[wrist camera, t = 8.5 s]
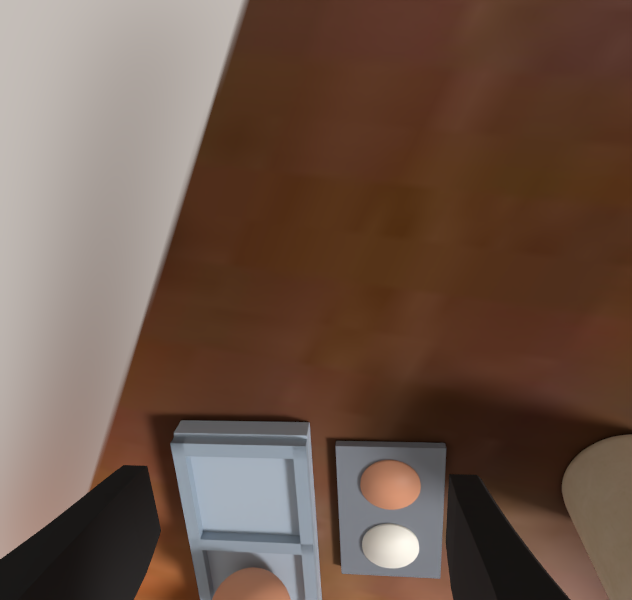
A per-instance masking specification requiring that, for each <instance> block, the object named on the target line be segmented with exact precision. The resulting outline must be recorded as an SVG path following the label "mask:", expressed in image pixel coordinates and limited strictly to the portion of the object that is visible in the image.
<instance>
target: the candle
mask: <svg viewBox="0 0 632 600" xmlns="http://www.w3.org/2000/svg"><path fill="white" fill-rule="evenodd" d="M562 494H563V499H564V503H565V505H566V508H567V510H568V512H569V515H570V517H571V519H572V521H573V524H574V526H575V528H576V530H577V532H578V534H579V536H580V538H581V541H582V543H583V545H584V547H585V549H586V551H587V553H588V555H589V558H590V560H591V562H592V564H593V566H594V568H595V570H596V572H597V574H598V577H599V579H600V581H601V583H602V585H603V587H604V589H605V591H606V594H607V596H608V598H609V600H632V434H628V435H619V436H614V437H610V438H607V439H603V440H601V441H599V442H596V443H594V444H592V445H591V446H589V447H587V448H586V449H584V450H583V451H582V452H580V453H579V454H578V455H577V456H576V457H575V458H574V459H573V460H572V461H571V463H570V464H569V466H568V467H567V469H566V471H565V473H564V477H563V480H562Z"/></svg>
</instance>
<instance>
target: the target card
mask: <svg viewBox="0 0 632 600" xmlns="http://www.w3.org/2000/svg"><path fill="white" fill-rule="evenodd" d="M445 465H446V445H445V443H424V442H375V441H336V466H337V487H338V507H339V527H340V548H341V568H342V574H361V575H380V576H400V577H419V578H439V579H440V572H441V551H442V529H443V508H444V487H445Z"/></svg>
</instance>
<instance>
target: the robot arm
mask: <svg viewBox="0 0 632 600" xmlns="http://www.w3.org/2000/svg"><path fill="white" fill-rule="evenodd" d="M160 532H161V528H160V524H159V519H158V514H157V510H156V505H155V500H154V496H153V491H152V486H151V482H150V477H149V472H148V468H147V466H131V465H123V466H122V467H121V468H119V469H118V470H116V471H115V472H114V473H112V474H111V475H110V476H109V477H107V478H106V479H105V480H104V481H102V482H101V483H100V484H98V485H97V486H96V487H95V488H94V489H92V490H91V491H90V492H89V493H87V494H86V495H85V496H84V497H82V498H81V499H80V500H79V501H77V502H76V503H75V504H73V505H72V506H71V507H70V508H68V509H67V510H66V511H65V512H63V513H62V514H61V515H60V516H58V517H57V518H56V519H54V520H53V521H52V522H51V523H49V524H48V525H47V526H45V527H44V528H43V529H41V530H40V531H39V532H37V533H36V534H34V535H33V536H32V537H30V538H29V539H28V540H27V541H25V542H24V543H22V544H21V545H20V546H18V547H17V548H16V549H14V550H13V551H11V552H10V553H9V554H7V555H6V556H5V557H3V558H2V559H0V600H134V598H135V596H136V594H137V592H138V590H139V588H140V585H141V583H142V581H143V579H144V577H145V575H146V573H147V570H148V567H149V564H150V562H151V559H152V556H153V553H154V550H155V547H156V544H157V541H158V538H159V535H160ZM446 549H447V558H448V566H449V574H450V582H451V590H452V594H453V599H454V600H570V599H569V598H568V596H567V595H566V594H565V593H564V592H563V591H562V589H561V588H560V587H559V586H558V585H557V583H556V582H555V581H554V580H553V579H552V578H551V576H550V575H549V574H548V573H547V572H546V570H545V569H544V568H543V567H542V565H541V564H540V563H539V562H538V560H537V559H536V558H535V556H534V555H533V554H532V552H531V551H530V550H529V549H528V547H527V546H526V545H525V543H524V542H523V541H522V539H521V538H520V537H519V535H518V534H517V533H516V531H515V530H514V528H513V527H512V526H511V524H510V523H509V521H508V520H507V518H506V517H505V515H504V514H503V513H502V511H501V510H500V508H499V507H498V505H497V504H496V502H495V501H494V499H493V497H492V496H491V494H490V493H489V491H488V489H487V488H486V486H485V484H484V483H483V481H482V479H481V478H480V477H479V476H477V475H459V474H449V489H448V509H447V529H446Z"/></svg>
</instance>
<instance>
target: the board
mask: <svg viewBox="0 0 632 600" xmlns="http://www.w3.org/2000/svg"><path fill="white" fill-rule="evenodd" d="M170 444H171V450H172V455H173V460H174V465H175V471H176V476H177V481H178V486H179V492H180V497H181V502H182V507H183V513H184V518H185V523H186V528H187V533H188V539H189V544H190V549H191V554H192V560H193V565H194V570H195V575H196V581H197V586H198V591H199V596H200V600H212V598H213V596H214V594H215V592H216V590H217V589H218V587H219V586H220V584H221V583H222V582H223V581H224V580H225V579H226V578H227V577H228V576H230V575H231V574H233V573H234V572H236V571H238V570H241V569H244V568H250V567H256V568H262V569H265V570H268V571H270V572H272V573H273V574H274V575H276V576H277V577H278V578H279V579H280V580H281V581H282V582H283V584H284V585H285V587H286V589H287V591H288V593H289V596H290V599H291V600H322V594H321V580H320V565H319V551H318V537H317V522H316V508H315V494H314V480H313V465H312V451H311V437H310V422H259V421H198V420H181V421H180V423H179V425H178V426H177V428H176V430H175V431H174V438H173V440H172V441H171V443H170Z"/></svg>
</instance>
